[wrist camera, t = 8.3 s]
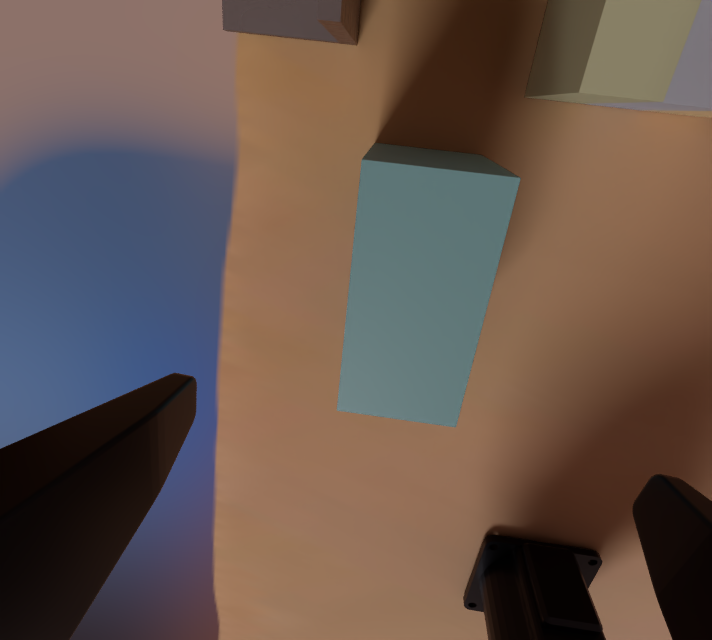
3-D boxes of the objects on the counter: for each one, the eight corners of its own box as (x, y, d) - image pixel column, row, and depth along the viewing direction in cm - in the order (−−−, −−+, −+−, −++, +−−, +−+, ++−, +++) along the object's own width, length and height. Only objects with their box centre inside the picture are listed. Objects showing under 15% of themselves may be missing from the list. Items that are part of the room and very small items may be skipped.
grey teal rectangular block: (441, 340, 20) (455, 427, 14) (354, 328, 20) (336, 410, 14) (481, 154, 16) (520, 178, 11) (375, 142, 16) (361, 159, 11)
